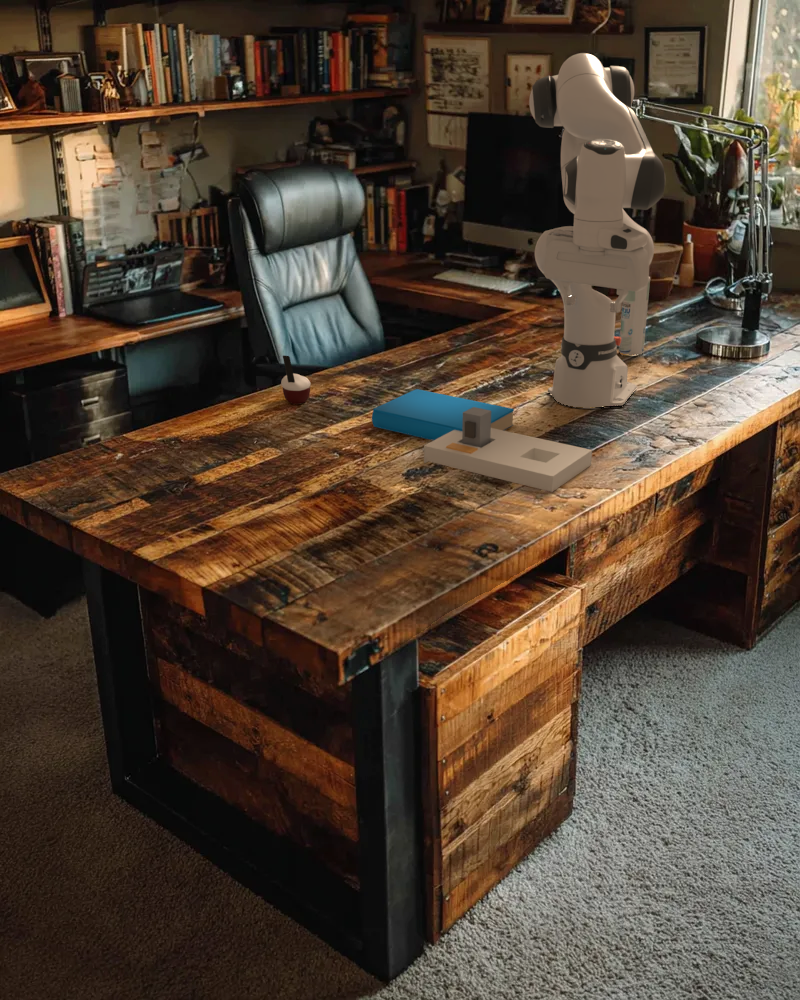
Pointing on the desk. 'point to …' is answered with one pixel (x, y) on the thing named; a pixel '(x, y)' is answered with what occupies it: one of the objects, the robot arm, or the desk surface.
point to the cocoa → (294, 385)
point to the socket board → (512, 458)
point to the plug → (476, 427)
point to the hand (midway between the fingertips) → (592, 308)
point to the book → (433, 414)
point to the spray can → (634, 321)
